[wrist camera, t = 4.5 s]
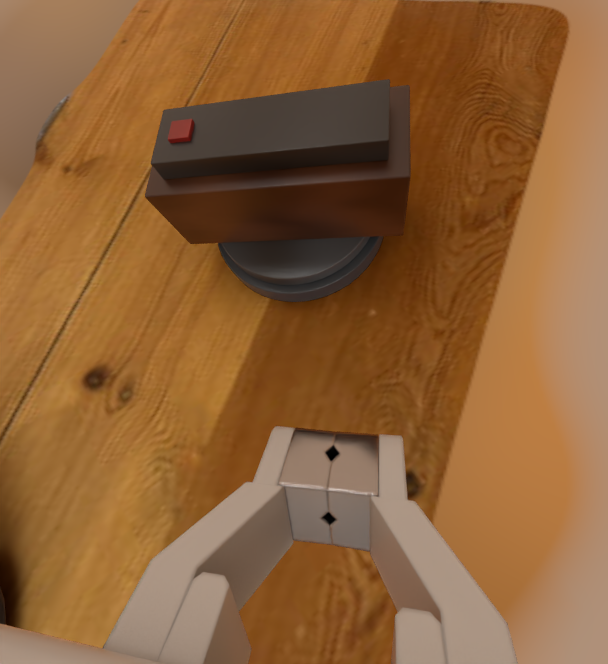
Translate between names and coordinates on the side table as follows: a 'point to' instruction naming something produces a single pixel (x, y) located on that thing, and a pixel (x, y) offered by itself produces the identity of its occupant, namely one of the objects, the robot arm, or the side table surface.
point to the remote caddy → (287, 176)
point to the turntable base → (314, 288)
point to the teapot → (2, 609)
